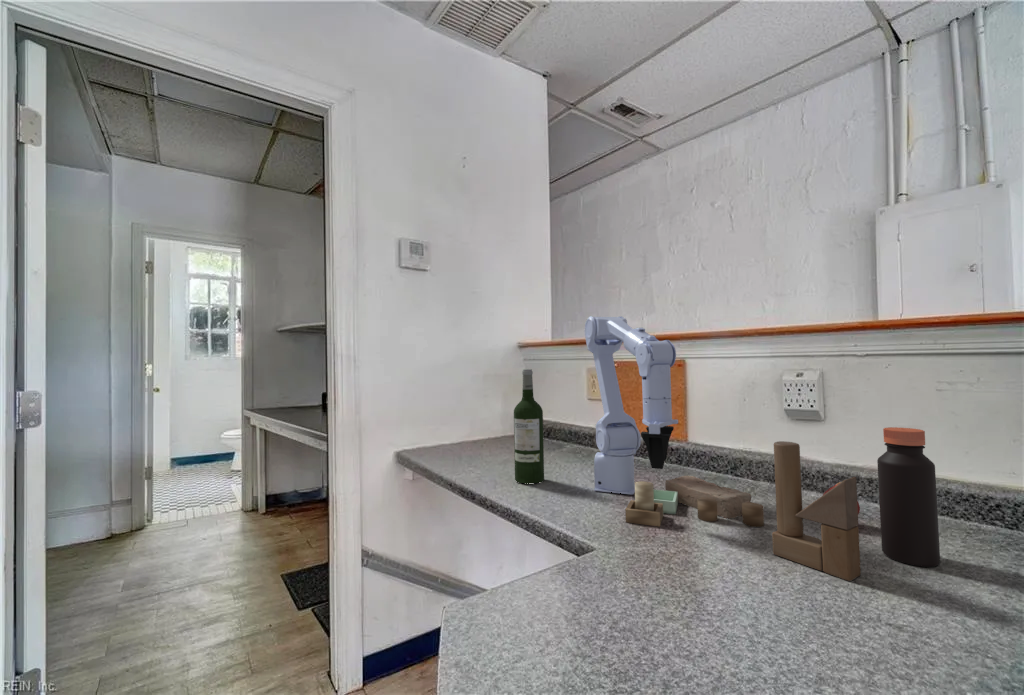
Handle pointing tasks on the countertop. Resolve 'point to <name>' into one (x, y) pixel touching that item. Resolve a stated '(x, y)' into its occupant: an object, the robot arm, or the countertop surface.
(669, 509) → the tray
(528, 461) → the wine bottle
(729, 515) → the brick
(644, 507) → the dowel
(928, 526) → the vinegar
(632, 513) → the socket block
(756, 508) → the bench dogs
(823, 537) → the wooden block
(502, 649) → the countertop surface
